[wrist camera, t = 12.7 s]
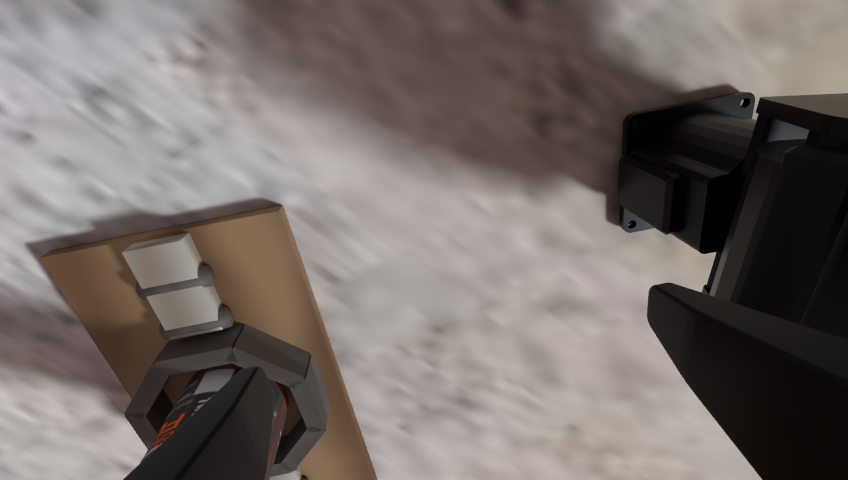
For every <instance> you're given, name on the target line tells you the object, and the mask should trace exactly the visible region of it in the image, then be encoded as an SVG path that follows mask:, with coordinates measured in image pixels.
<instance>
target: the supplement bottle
mask: <svg viewBox="0 0 848 480" xmlns="http://www.w3.org/2000/svg"><path fill="white" fill-rule="evenodd" d="M241 369H243V368H242V367H240V366H237V365H235V364H232V363H230V364H225V365H220V366H215V367H210V368H205V369H201V370H200V371H198V372H197V373H196V374H195V375H194V376H193V377H192V379H191V380H190V381H189V383H188V385H187V386H186V387H185V388H184V390H183V391H182V393H181V395H180V396H179V398H178V400H177V401H176V403H175V404H174V407H173V408H172V410H171V412H170V414H169V415H168V417H167V418H166V420H165V422H164V423H163V425H162V427H161V429H160V430H159V432H158V434H157V436H156V437H155V439H154V440H153V442H152V444H151V446H150V447H149V449H148V451H147V453H146V454H145V456H144V458H143V459H142V461H144V460H145V459H146V458H147V457H148V456H149V455H150V454H151V453H152V452H153V451H154V450H155V449H156V448H157V447H159V446H160V445H161V444H162V443H163V442H164V441H165V440H166V439H167V438H168V437H169V436H170V435H171V434H172V433H174V432H175V431H176V430H177V429H178V428H179V427H180V426H181V425H182V424H183V423H184V422H185V421H186V420H187V419H189V418H190V417H191V416H192V415H193V414H194V413H195V412H196V411H197V410H198V409H199V408H200V407H201V406H202V405H203V404H205V403H206V402H207V401H208V400H209V399H210V398H211V397H212V396H213V395H214V394H215V393H216V392H217V391H218V390H220V389H221V388H222V387H223V386H224V385H225V384H226V383H227V382H228V381H229V380H230V379H231V378H232V377H233V376H235V375H236V374H237V373H238V372H239V371H240V370H241ZM268 380H269V382H270V384H271V387H272V389H273V391H274V395H275V405H274V414H273V423H272V432H271V441H270V450H269V459H268V466H267V472H266V477H265V480H269V479H270V475H271V472H272V468H273V464H274V461H275V457H276V454H277V450H278V446H279V442H280V438H281V435H282V431H283V427H284V423H285V420H286V416H287V410H288V405H289V398H288V393H287V390H286V387H285V386H284V385H283V384H281V383H278V382H276V381H274V380H271V379H269V378H268ZM142 461H141V462H142Z"/></svg>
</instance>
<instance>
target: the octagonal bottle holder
mask: <svg viewBox="0 0 848 480" xmlns="http://www.w3.org/2000/svg"><path fill="white" fill-rule="evenodd" d="M39 259H40V260H41V262H42V263H43V265H44V267H45V268H46V270H47V271H48V273H49V274H50V276H51V277H52V279H53V280H54V282H55V283H56V285H57V286H58V288H59V289H60V291H61V292H62V294H63V295H64V297H65V298H66V300H67V301H68V303H69V304H70V306H71V307H72V309H73V310H74V312H75V313H76V315H77V316H78V318H79V319H80V321H81V323H82V324H83V326H84V327H85V329H86V330H87V332H88V333H89V335H90V336H91V338H92V339H93V341H94V342H95V344H96V345H97V347H98V348H99V350H100V351H101V353H102V354H103V356H104V357H105V359H106V360H107V362H108V363H109V365H110V366H111V368H112V369H113V371H114V372H115V374H116V376H117V377H118V379H119V380H120V382H121V383H122V385H123V386H124V388H125V389H126V391H127V392H128V394H129V395H130V397H131V398H132V401H131V403H130V404H129V406H128V408H127V410H126V412H125V413H124V414H125V417H126V418H127V420H128V421H129V423H130V424H131V426H132V427H133V428H134V430H135V431H136V433H137V434H138V436H139V437H140V439H141V440H142V442H143V443H144V444H145V446H146V447H147V449H149V447H150V446H151V444H152V442H153V440H154V439H155V437H156V436H157V434H158V432H159V430H160V429H161V427H162V425H163V423H164V422H165V420H166V418H167V417H168V415H169V414H170V412H171V410H172V408H173V407H174V404H175V403H176V401H177V400H178V398H179V396H180V395H181V393H182V391H183V390H184V388H185V387H186V386H187V385H188V383H189V381H190V380H191V379H192V377H193V376H194V375H195V374H196V373H197V372H198V371H200V370H201V369H205V368H210V367H215V366H220V365H225V364H230V363H232V364H235V365H237V366H240V367H242V368H248V367H253V366H261V367H262V368H263V369H264V371H265V373H266V376H267V378H269V379H271V380H274V381H276V382H278V383H281V384H283V385H284V386H285V387H286V390H287V393H288V398H289V405H288V410H287V416H286V420H285V423H284V427H283V431H282V435H281V438H280V442H279V446H278V450H277V454H276V457H275V461H274V464H273V468H272V472H271V475H270V479H269V480H377V477H376V474H375V471H374V469H373V466H372V463H371V460H370V457H369V454H368V451H367V448H366V445H365V442H364V440H363V437H362V434H361V431H360V428H359V425H358V422H357V419H356V416H355V414H354V411H353V408H352V405H351V402H350V399H349V396H348V393H347V390H346V387H345V385H344V382H343V379H342V376H341V373H340V370H339V367H338V364H337V361H336V359H335V356H334V353H333V350H332V347H331V344H330V341H329V338H328V335H327V332H326V330H325V327H324V324H323V321H322V318H321V315H320V312H319V309H318V306H317V304H316V301H315V298H314V295H313V292H312V289H311V286H310V283H309V280H308V278H307V275H306V272H305V269H304V266H303V263H302V260H301V257H300V254H299V251H298V249H297V246H296V243H295V240H294V237H293V234H292V231H291V228H290V225H289V223H288V220H287V217H286V214H285V211H284V208H283V205H281V206H276V207H271V208H266V209H261V210H256V211H251V212H246V213H241V214H236V215H230V216H225V217H220V218H215V219H210V220H205V221H200V222H195V223H190V224H185V225H180V226H174V227H169V228H164V229H159V230H154V231H149V232H144V233H139V234H134V235H129V236H124V237H119V238H113V239H108V240H103V241H98V242H93V243H88V244H83V245H78V246H73V247H68V248H63V249H57V250H52V251H50V252H48V253H46V254H45V255H43V256H41V257H40V258H39Z"/></svg>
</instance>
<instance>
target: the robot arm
mask: <svg viewBox="0 0 848 480" xmlns="http://www.w3.org/2000/svg"><path fill="white" fill-rule="evenodd" d="M743 99H744V102H743V104H742V105H741V106H740V103H741V101H742V100H743ZM754 103H755V97H754V95H753V94H752V93H749V92H737V93H732V94H727V95H722V96H717V97H712V98H707V99H701V100H696V101H691V102H686V103H681V104H676V105H671V106H666V107H661V108H655V109H650V110H645V111H640V112H635V113H632V114H629V115H628V116H627V117H626V118H625V120H624V123H623V142H622V157H621V158H620V160H619V180H618V204H620V227H621V228H622V229H623V230H624V231H626V232H628V233H631V232H637V231H642V230H647V229H652V228H656V229H657V230H659V231H660V232H662V233H664V234H666V235H667V234H672V235H674V236H675V237H677V238H678V239H680V240H681V241H683V242H685V243H686V244H688V245H689V246H691V247H692V248H694V249H696V250H697V251H699V252H700V253H702V254H707V253H712V252H716V256H715V260H714V263H713V266H712V270H711V273H710V276H709V279H708V283H707V285H704V287H703V290H702V293H701V292H698V291H695V290H692V289H688V288H685V287H682V286H679V285H676V284H673V283H663V284H659V285H654V286H652V287H651V288H650V290H649V296H648V309H647V318H648V322H649V325H650V326H651V328H652V330H653V331H654V333H655V334H656V336H657V338H658V339H659V341H660V342H661V344H662V345H663V347H664V349H665V350H666V352H667V353H668V355H669V357H670V358H671V360H672V361H673V363H674V364H675V366H676V368H677V369H678V371H679V372H680V374H681V375H682V377H683V378H684V380H685V381H686V383H687V384H688V385H689V387H690V388H691V389H692V391H693V392H694V393H695V395H696V396H697V397H698V398H699V400H700V401H701V402H702V403H703V405H704V406H705V407H706V409H707V410H708V411H709V412H710V414H711V415H712V416H713V417H714V419H715V420H716V421H717V423H718V424H719V425H720V426H721V428H722V429H723V430H724V431H725V433H726V434H727V435H728V437H729V438H730V439H731V440H732V442H733V443H734V444H735V445H736V447H737V448H738V449H739V450H740V452H741V453H742V454H743V456H744V457H745V458H746V459H747V461H748V462H749V463H750V464H751V466H752V467H753V468H754V470H755V471H756V472H757V473H758V475H759V476H760V477H761V478H762V480H848V93H844V94H822V95H800V96H778V97H761V98H760V100H759V103H758V106H757V110H756V113H759V114H758V118H757V120H753V119H752V115H753V109H754ZM636 119H637V121H638V123H637V125H636V126H635V127H634V128H633V127H632V124H633V122H634V121H635V120H636ZM632 220H633V221H632ZM630 221H632V224H631V225H629V226H628V223H629V222H630ZM274 405H275V395H274V391H273V389H272V387H271V384H270V382H269V380H268V378H267V376H266V373H265V371H264V369H263V368H262V367H261V366H253V367H248V368H243V369H241V370H240V371H239V372H238V373H237V374H236V375H235V376H233V377H232V378H231V379H230V380H229V381H228V382H227V383H226V384H225V385H224V386H223V387H222V388H221V389H220V390H218V391H217V392H216V393H215V394H214V395H213V396H212V397H211V398H210V399H209V400H208V401H207V402H206V403H205V404H203V405H202V406H201V407H200V408H199V409H198V410H197V411H196V412H195V413H194V414H193V415H192V416H191V417H190V418H189V419H187V420H186V421H185V422H184V423H183V424H182V425H181V426H180V427H179V428H178V429H177V430H176V431H175V432H174V433H172V434H171V435H170V436H169V437H168V438H167V439H166V440H165V441H164V442H163V443H162V444H161V445H160V446H159V447H157V448H156V449H155V450H154V451H153V452H152V453H151V454H150V455H149V456H148V457H147V458H146V459H145V460H144V461H142V462H141V463H140V464H139V465H138V466H137V467H136V468H135V469H134V470H133V471H132V472H131V473H130V474H129V475H127V476H126V477H125V478H124V479H123V480H265V477H266V472H267V466H268V459H269V450H270V441H271V432H272V423H273V414H274Z"/></svg>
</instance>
